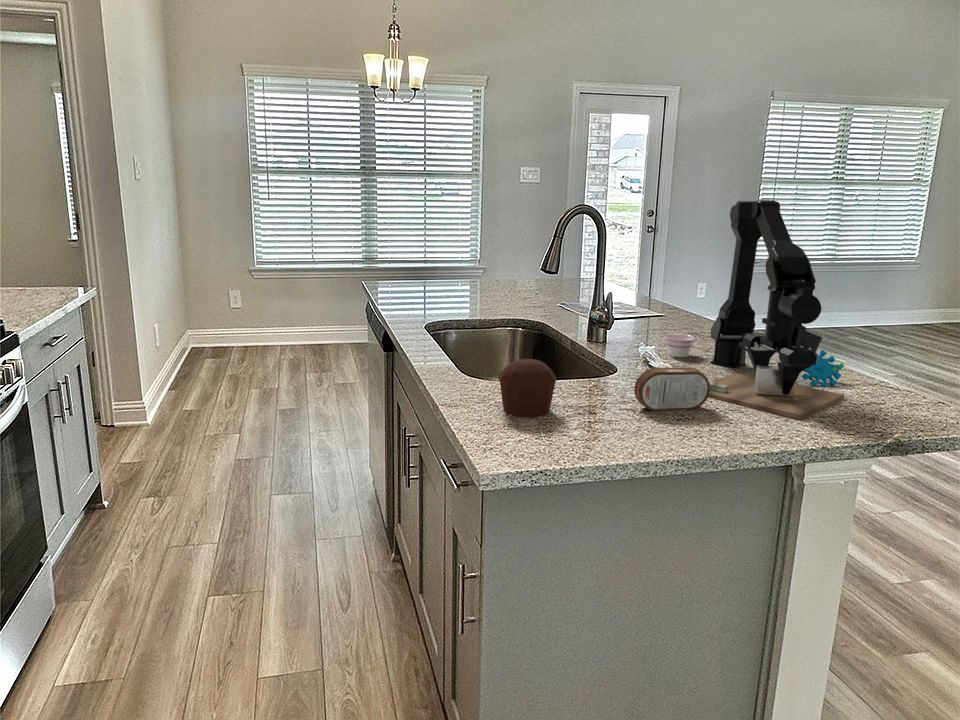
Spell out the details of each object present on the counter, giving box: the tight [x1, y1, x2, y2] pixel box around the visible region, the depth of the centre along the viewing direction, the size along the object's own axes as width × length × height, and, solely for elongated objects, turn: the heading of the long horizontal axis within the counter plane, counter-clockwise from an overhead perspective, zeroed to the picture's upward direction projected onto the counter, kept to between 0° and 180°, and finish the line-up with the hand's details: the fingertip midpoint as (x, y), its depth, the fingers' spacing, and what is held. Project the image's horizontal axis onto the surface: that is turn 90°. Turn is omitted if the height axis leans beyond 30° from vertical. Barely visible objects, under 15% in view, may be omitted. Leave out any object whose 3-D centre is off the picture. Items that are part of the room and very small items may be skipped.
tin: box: [633, 367, 710, 412], centre depth 138 cm, size 15×3×8 cm, turn 99°
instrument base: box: [708, 372, 845, 421], centre depth 149 cm, size 24×22×3 cm
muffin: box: [497, 358, 558, 419], centre depth 135 cm, size 12×11×10 cm
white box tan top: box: [754, 365, 797, 397], centre depth 146 cm, size 7×3×6 cm, turn 80°
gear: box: [801, 348, 845, 388], centre depth 160 cm, size 11×6×10 cm
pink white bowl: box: [664, 333, 696, 359], centre depth 181 cm, size 12×12×6 cm
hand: (773, 388), depth 147 cm, fingers open, 9 cm apart
